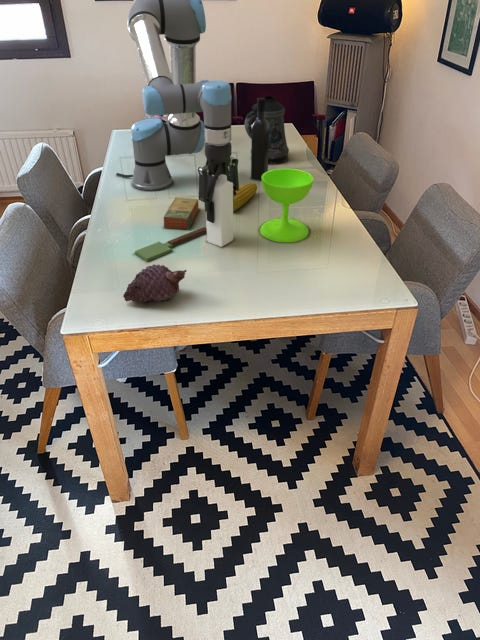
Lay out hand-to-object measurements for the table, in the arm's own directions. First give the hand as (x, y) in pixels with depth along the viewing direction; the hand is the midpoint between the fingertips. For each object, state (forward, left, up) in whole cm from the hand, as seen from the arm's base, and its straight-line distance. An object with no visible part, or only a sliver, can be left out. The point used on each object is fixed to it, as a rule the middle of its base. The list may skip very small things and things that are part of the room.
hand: (219, 217), depth 158 cm
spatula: (-8, -12, -8) cm, 16 cm away
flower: (-85, +43, -8) cm, 96 cm away
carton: (-21, +1, -8) cm, 23 cm away
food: (-17, +25, -8) cm, 31 cm away
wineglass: (+9, +20, -8) cm, 23 cm away
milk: (0, 0, -8) cm, 8 cm away
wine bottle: (-30, +47, -8) cm, 56 cm away
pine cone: (+13, -33, -8) cm, 37 cm away
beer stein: (-43, +65, -8) cm, 78 cm away
